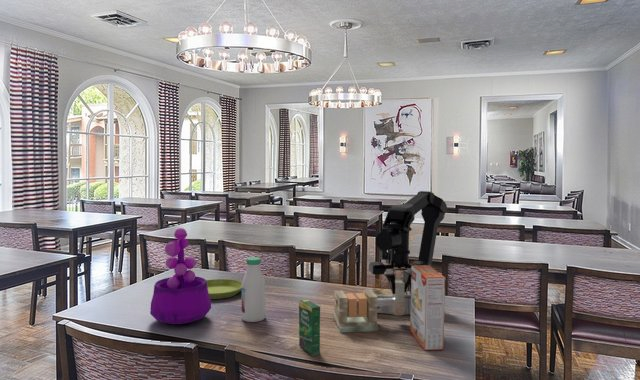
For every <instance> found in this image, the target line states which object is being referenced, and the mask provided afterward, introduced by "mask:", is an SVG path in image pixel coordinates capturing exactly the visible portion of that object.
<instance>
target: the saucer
mask: <svg viewBox="0 0 640 380" xmlns="http://www.w3.org/2000/svg"><path fill="white" fill-rule="evenodd" d="M205 280H206V281H207V287H208V293H209V296H210V300H222V299H228V298H232V297H233V296H236V295H238V294H239V293H240V292H241V291H242V281H240V280H236V279H229V278H228V279H227V278H224V279H223V278H220V279H219V278H216V279H215V278H214V279H205Z"/></svg>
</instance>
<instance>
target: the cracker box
mask: <svg viewBox="0 0 640 380" xmlns="http://www.w3.org/2000/svg"><path fill="white" fill-rule="evenodd" d="M432 267H433V266H432ZM432 267H430V266H429V265H413V266H411V315H409V316H410V320H409V321H410V323H409V325H410V326H409V327H410V328H409V330H410V332H411V334H412V336H413V337H414V338H415V340H416V341H417V342H418V344H419V345H420V347H421V348H422V349H423V351H442V350H444V345H445V343H444V340H445V339H444V337H445V304H446V303H445V302H446V277H445V276H444V275H442V274H441V273H440V272H438V271H437V270H436V269H435V268H434V267H433V268H432Z"/></svg>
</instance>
